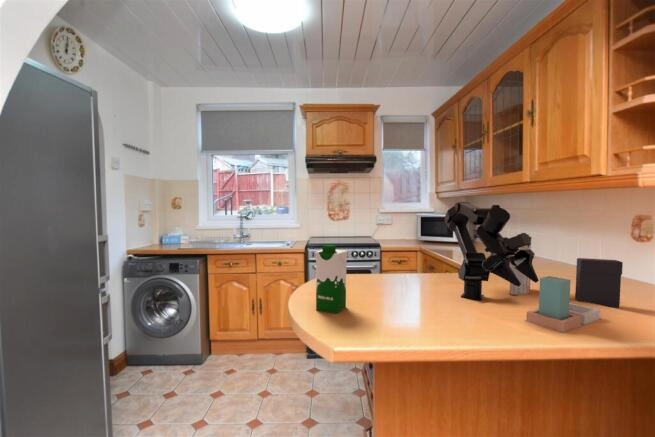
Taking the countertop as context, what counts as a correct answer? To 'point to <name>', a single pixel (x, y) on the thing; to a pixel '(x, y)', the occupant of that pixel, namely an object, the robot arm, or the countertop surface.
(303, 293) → the countertop surface
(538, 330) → the countertop surface
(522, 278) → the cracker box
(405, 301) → the countertop surface
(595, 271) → the black box
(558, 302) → the plug
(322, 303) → the milk carton
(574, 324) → the organiser
